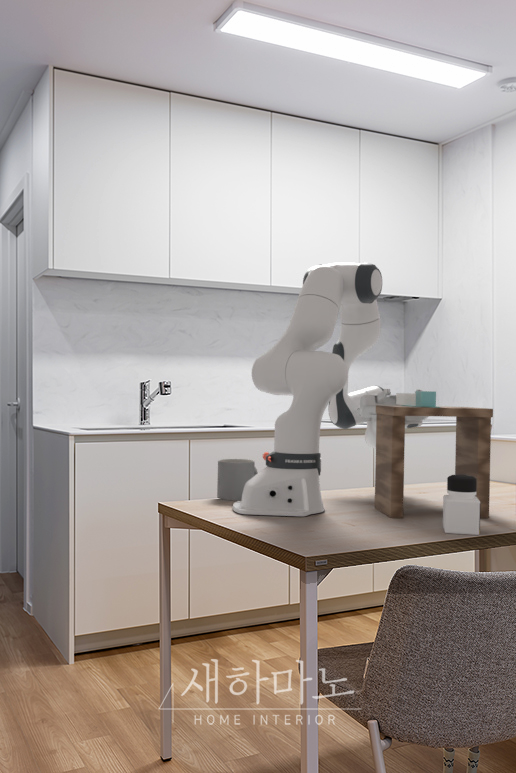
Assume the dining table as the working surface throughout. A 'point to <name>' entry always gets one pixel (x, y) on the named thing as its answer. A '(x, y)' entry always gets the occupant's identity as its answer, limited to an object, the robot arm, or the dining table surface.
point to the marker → (417, 399)
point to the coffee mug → (234, 477)
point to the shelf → (468, 459)
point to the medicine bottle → (461, 506)
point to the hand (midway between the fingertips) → (403, 391)
